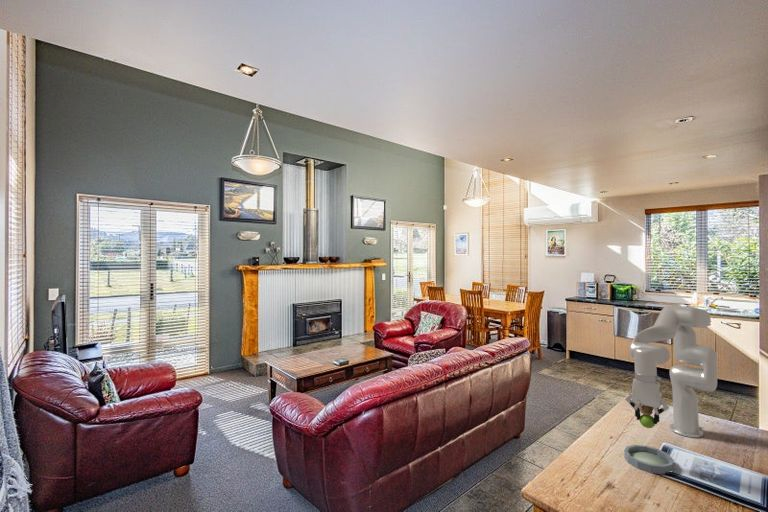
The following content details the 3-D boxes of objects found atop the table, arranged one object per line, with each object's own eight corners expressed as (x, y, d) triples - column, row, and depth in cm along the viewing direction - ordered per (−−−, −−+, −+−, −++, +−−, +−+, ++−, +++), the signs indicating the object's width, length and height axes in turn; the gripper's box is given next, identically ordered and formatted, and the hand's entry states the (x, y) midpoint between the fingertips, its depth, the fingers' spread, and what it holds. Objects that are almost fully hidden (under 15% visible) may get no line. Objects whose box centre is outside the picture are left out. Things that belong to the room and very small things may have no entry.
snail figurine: (634, 425, 159) (633, 397, 159) (648, 424, 159) (647, 395, 159) (644, 431, 153) (643, 402, 153) (659, 430, 154) (657, 400, 154)
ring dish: (630, 447, 168) (629, 441, 168) (676, 461, 156) (676, 454, 156) (620, 463, 156) (620, 456, 156) (669, 479, 144) (669, 471, 144)
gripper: (672, 379, 152) (674, 424, 152) (624, 371, 164) (625, 412, 165) (669, 384, 147) (671, 430, 147) (619, 375, 159) (621, 418, 159)
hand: (647, 420), depth 156 cm, fingers closed on snail figurine, 5 cm apart
